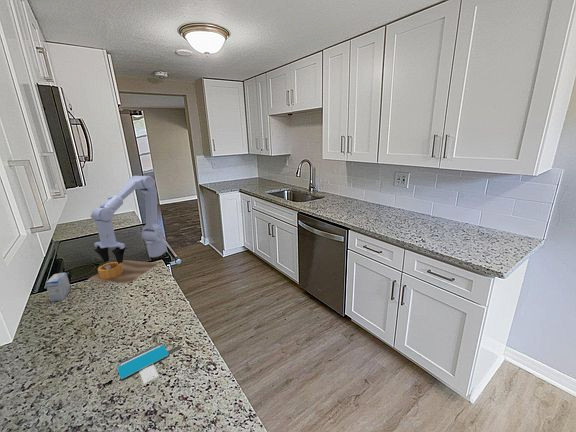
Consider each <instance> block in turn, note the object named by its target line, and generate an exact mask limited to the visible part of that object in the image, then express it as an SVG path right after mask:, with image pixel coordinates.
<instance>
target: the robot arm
mask: <svg viewBox="0 0 576 432" xmlns="http://www.w3.org/2000/svg"><path fill="white" fill-rule="evenodd" d="M136 190H137V191H140V192H142V194H144V200H145V201H144V203H145V225H143V227H142V231H141V238H142V240H144V242H145V243H146V247H147V248H146V249H147V255H148V257H149V258H158V257H161V256H162V255H164V254H165V253H168V252H167V251H168V246H167V241H166V240H165V239H164V236H165V235H164V232H163V227H162V225H160V224H159V223H158V218H159V217H158V195H157V194H158V193H157V192H158V190H157V187H156V180H155V178H153V177H152V176H151V175H133V176H131V177H130V178H129V179H128V181H127V182H126V184H125V185H123V187H122V189H120V191H118V193H117V194H116V195H113V194H112V195H109V196H108V197H107V199H106V200H105V201H104V202H103V203H101V204H100V205H99V207H95V208H94V209H92V211H91V215H90V218H91V220H93V221H94V223H95V226H96V230H97V233H98V237H99V240H100V241H96V242H94V243H93V245H94V247H95V249H94V252H96V254H98V255H99V256H100V258H101V260H102V261H103V262H104V263H108V262H110V255H109V248H110V249H112V250H111V252H112V253H113V255H114V257H115V260H116V262H118V264H120V263H122V262H123V260H124V254H125V252H126V249H127V247H126V245H125V244H126V243H123V242H119V241H117V237H116V234H115V230H114V225H113V218H114V214H115V212H117V211H118V210H119V208H120V207H121V206H122V205H124V200H125V199H126V198H127V197H128V196H129V195H131V194H132V193H133V192H134V191H136Z"/></svg>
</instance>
